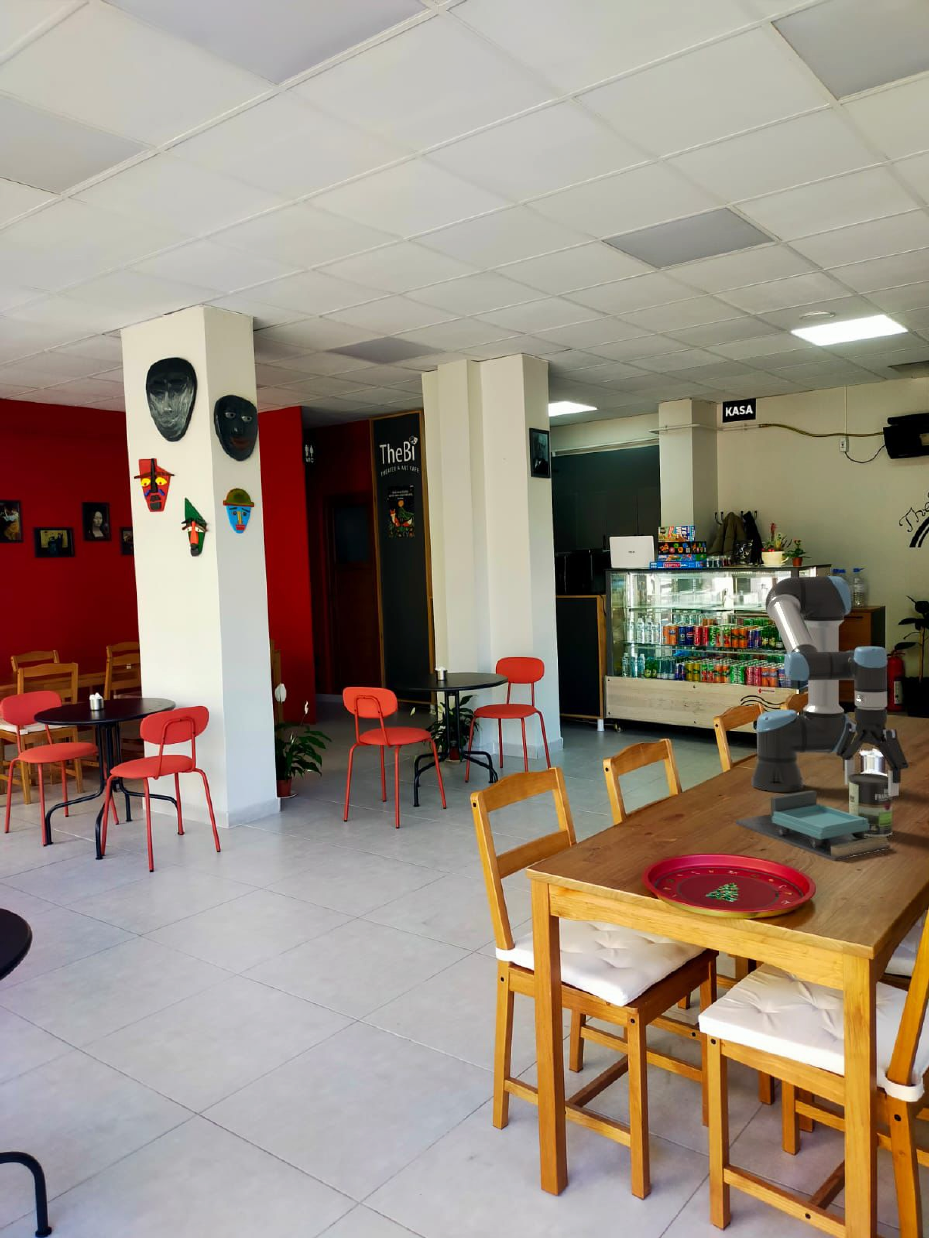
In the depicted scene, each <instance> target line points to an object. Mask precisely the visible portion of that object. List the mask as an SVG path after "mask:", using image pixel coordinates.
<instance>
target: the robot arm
mask: <svg viewBox="0 0 929 1238" xmlns="http://www.w3.org/2000/svg"><path fill="white" fill-rule="evenodd" d="M851 609H852V599H851V591H850V588H849V586H848V583H847V582H846V580H845V579H844V578H843V577H841V576H834V575H822V576H821V575H820V576H819V575H817V576H791V577H787V578H784V579H781V580H780V581H778V582H777V583H775V584H774V585H773V586H772V587H771V588H770V590H769V591H768V593H767V596H766V598H765V611H766V613H767V615H768V617H769V619H771V621H773V622H774V623H775V627H776V628H777V630H778V633H779V636H780V638H781V641H782V643H783V645H784V648H785V651H786V652H787V653H786V654H785V656H784V662H783V667H784V674H785V677H786V679H788V680H790V681H802V682H805V681H807V682H808V684H807V685H808V686H807V689H808V693H807V694H808V695H807V696H808V700H807V701H808V703H807V705H805V706H804V707H803V709H802V710H803V711H802V714H798V713H797V711H796V710H793V709H777V710H776V709H775V710H770V711H765V712H763V713H761V714H760V715H759V716H758V717H757V719H756V721H757V722H756V738H757V739H756V746H757V747H756V751H757V752H756V753H757V754H756V755H757V758H756V760H757V761H756V764H755V768H754V772H753V774H752V776H751V786H752V787H753V788H755V789H758V790H762V791H765V790H767V792H773V793H791V792H799V791H801V790H803V789H804V779H803V777H802V774H801V770H800V767H799V764H798V754H829V755H830V754H835V753H836V755H837V756H838V757H841V758H842V770H843V772H844V785H845V786H849V776H850V775H852V774H856V769H855V766H856V764H855V762H856V760H855V759H854V756H855V755H856V753H857V752H858V750H860V748H861V747H862V745H864V744H869V745H872V746H875V748H877V749H878V750H879V752H880V753H881V755H882V757H883V758H884V759H885V761H886V763H887V764H888V766H889V768H890V769H888V772H887V773H888V774H887V776H888V796H892V797H897V796H899V791H900V790H899V789H900V787H899V785H900V783H901V782H902V778H901V775H902V770H905V769H908V768H909V764H908V761H907V759H906V756H905V754H904V751H903V749H902V746H901V744H900V742H899V739H898V731H897V730H896V728H895V729H893V728H892V729H886V724H887V722H888V709H886V707H888V691H887V690H888V679H887V678H888V677H887V676H888V673H887V672H888V658H887V650H886V648H884V646H883V647H882V646H874V645H873V646H871V645H870V646H857V647H856V648H855V649H854V650H853V649H852V650H850V649H849V650H847V651H840V650H839V647H840V646H839V644H840V643H839V627H840V625H841V624H842V623H843V622H844V621H845V616H846V615H849V614H850V612H851V611H852V610H851ZM839 681H854V705H855V706H856V707H855V708H854V722H851V719H850V717H849V715H847V714H845V710H844V708H843V707H842V706H840V704H839V703H840V702H839V699H840V698H839V697H840V696H839V691H840V690H839V687H840V686H839ZM856 733H857V734H856ZM798 790H799V791H798Z"/></svg>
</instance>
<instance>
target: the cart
mask: <svg viewBox="0 0 929 1238" xmlns="http://www.w3.org/2000/svg"><path fill="white" fill-rule="evenodd" d="M817 795H818V794H817V791H816V790H806V791H805V790H804V791H800V792H799V791H798V792H794V793H788V794H783V795H777V796H776V795H775V796H771V797H770V814H771V820H772V822H773V823H776V824H777V830H778V832H779V833H780V834H787V833H789V830H790V829H792V830H795V831H798V832H801V833H804V834H807V835H809V836H810V837H809V839H810V843H811V844H812V845H813V846H815V847H817V846H821V845H822V844H823V839H825V838H830V837H835V836H840V835H845V834H850V833H852V835H853V836H854V837H855V838H861V837H865V836H864V834H865V830H869V823H868V819H866V818H863V817H859V816H856V815H853V814H850V813H849V812H846V811H843V810H839V809H836V808H833V807H831V806H826V805H825V804H824V805H823V804H820V803H817V802H818V799H817V797H818V796H817Z"/></svg>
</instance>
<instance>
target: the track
mask: <svg viewBox="0 0 929 1238" xmlns="http://www.w3.org/2000/svg"><path fill="white" fill-rule="evenodd" d="M734 822H735V823H734V824H735V825H737V826H741V827H743V828H746V829H749V830H751V831H754V832H757V833H760V834H762V835H765V836H767V837H770V838H773V839H775V840H778V841H781V842H783V843H786V844H789V845H790V846H794V847H797V848H799V849H802V850H805V851H807V852H810V853H812V854H815V855H818V856H820V857H823V858H826V859H829V860H831V859H832V860H831V861H833V860H836V861H839V860H838V859H841V860H845V859H844V858H846V859H848V858H847V857H850V856H853V855H859V854H864V853H867V852H874V851H877V850H882V849H888V850H890V849H891V845H889V844H888V837H882V836H878V837H866V836H863V837H861V838H855V837H854V836H853V835H852V833H850V834H845V835H840V836H835V837H830V838H825V839H823V844H822V845H821V846H817V847H815V846H813V845H812V844H811V843H810V839H809V837H810V836H809V835H807V834H804V833H801V832H798V831H795V830H792V829H790V830H789V833H787V834H780V833H779V832H778V830H777V824H776V823H773V822H772V820H771V813H770V814H769V813H768V814H765V815H764V814H763V815H758V816H754V817H753V816H752V817H747V818H742V819H737V820H735V821H734ZM889 848H890V849H889ZM874 853H875V852H874ZM864 855H865V854H864ZM850 858H851V857H850Z"/></svg>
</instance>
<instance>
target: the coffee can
mask: <svg viewBox="0 0 929 1238" xmlns="http://www.w3.org/2000/svg"><path fill="white" fill-rule="evenodd" d="M848 788H849V790H848V793H849V796H848V797H849V798H848V800H849V802H848V803H849V804H848V805H849V806H848V807H849V808H848V809H849V812H848V813H850V814H853V815H856V816H859V817H863V818H866V819H868V823H869V830H865V834H864V836H863V837H866V836H868V837H867V838H873V837H878V836H882V837H885V838H888V837H890V836H889V835H891V836H892V835H893V796H888V775H883V774H879V773H867V772H863V773H861V772H860V773H855V774H852V775H850V776H849V785H848ZM887 836H888V837H887Z"/></svg>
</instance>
